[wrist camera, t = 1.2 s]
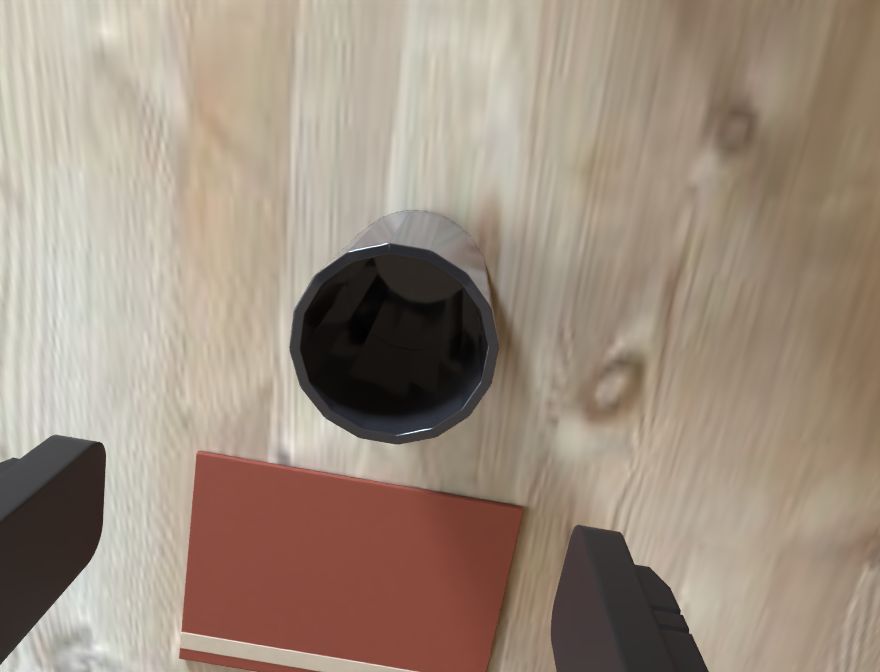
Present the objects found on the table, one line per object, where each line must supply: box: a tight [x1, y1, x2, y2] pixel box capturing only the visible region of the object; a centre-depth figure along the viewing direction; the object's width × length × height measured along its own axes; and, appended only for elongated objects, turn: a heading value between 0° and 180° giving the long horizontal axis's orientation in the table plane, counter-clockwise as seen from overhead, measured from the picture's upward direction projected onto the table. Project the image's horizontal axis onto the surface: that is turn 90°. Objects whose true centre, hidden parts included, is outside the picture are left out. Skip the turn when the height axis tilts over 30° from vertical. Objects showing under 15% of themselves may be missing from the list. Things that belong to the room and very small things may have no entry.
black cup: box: [289, 210, 499, 444], centre depth 27 cm, size 6×6×10 cm
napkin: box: [179, 451, 524, 672], centre depth 36 cm, size 16×12×1 cm
